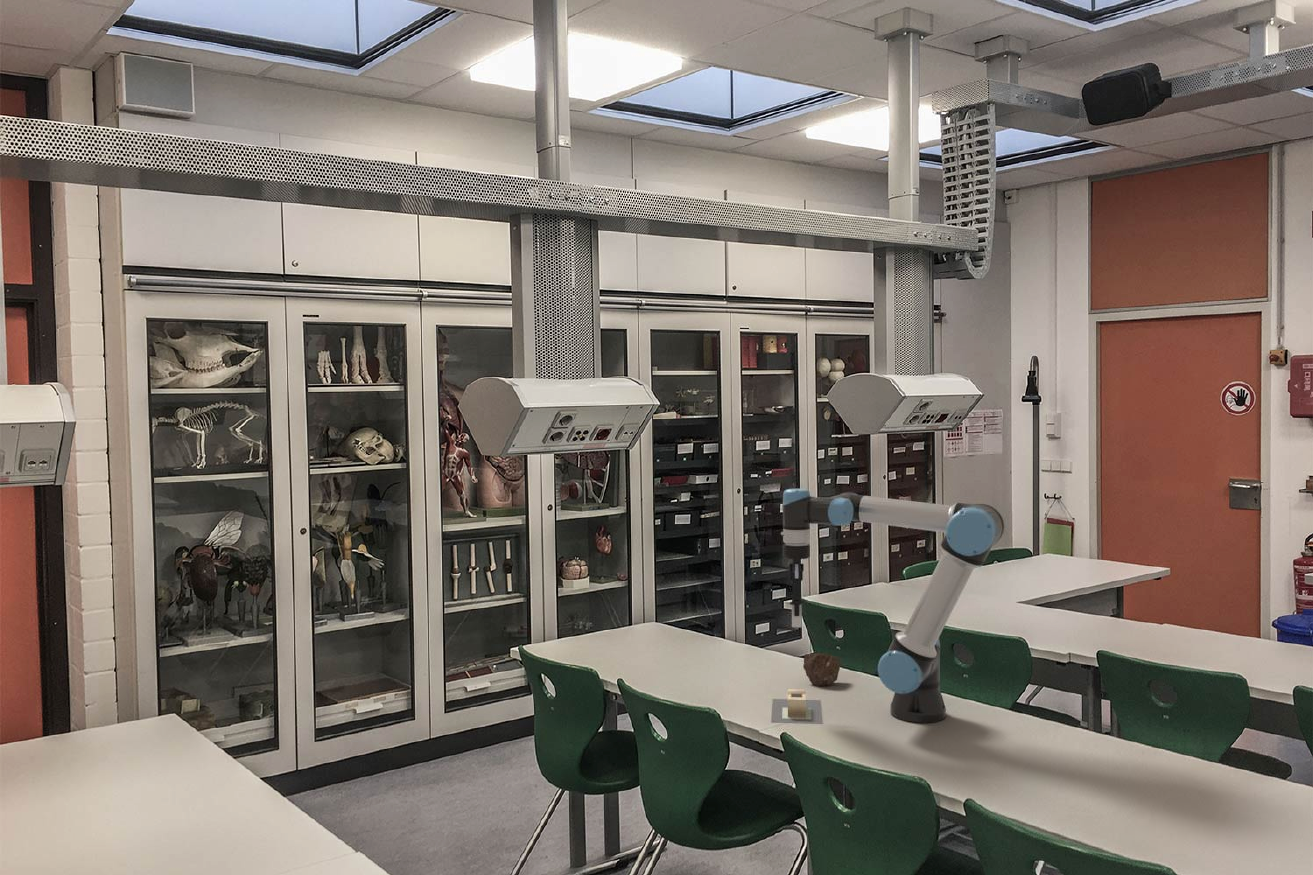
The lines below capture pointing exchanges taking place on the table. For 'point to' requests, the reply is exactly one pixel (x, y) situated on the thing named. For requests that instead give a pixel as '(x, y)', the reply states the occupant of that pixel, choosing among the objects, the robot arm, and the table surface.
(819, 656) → the rock
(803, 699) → the beech block
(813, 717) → the rubber mat
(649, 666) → the table surface
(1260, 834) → the table surface
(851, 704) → the table surface
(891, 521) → the robot arm
